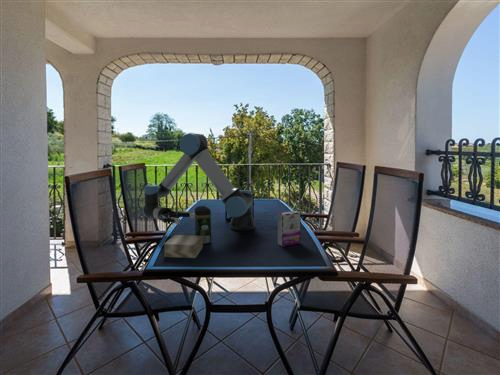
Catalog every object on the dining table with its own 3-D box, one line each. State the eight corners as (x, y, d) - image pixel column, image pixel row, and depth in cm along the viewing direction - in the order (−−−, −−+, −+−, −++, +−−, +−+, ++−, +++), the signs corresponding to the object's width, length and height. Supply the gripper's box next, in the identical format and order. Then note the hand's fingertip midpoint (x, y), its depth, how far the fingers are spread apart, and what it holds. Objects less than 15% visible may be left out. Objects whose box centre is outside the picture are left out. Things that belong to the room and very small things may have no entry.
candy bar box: (294, 241, 161) (295, 210, 158) (300, 243, 156) (301, 212, 154) (276, 244, 156) (277, 212, 153) (282, 247, 151) (282, 214, 149)
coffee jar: (194, 239, 162) (193, 205, 160) (209, 238, 165) (208, 204, 162) (196, 245, 153) (196, 209, 151) (212, 244, 156) (212, 208, 153)
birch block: (202, 247, 150) (202, 235, 149) (195, 258, 136) (194, 244, 135) (174, 246, 151) (174, 234, 150) (164, 256, 137) (164, 243, 136)
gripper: (179, 216, 186) (205, 221, 174) (144, 224, 166) (171, 231, 153) (179, 204, 185) (205, 208, 173) (144, 211, 165) (170, 216, 152)
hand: (189, 219), depth 163 cm, fingers open, 13 cm apart
